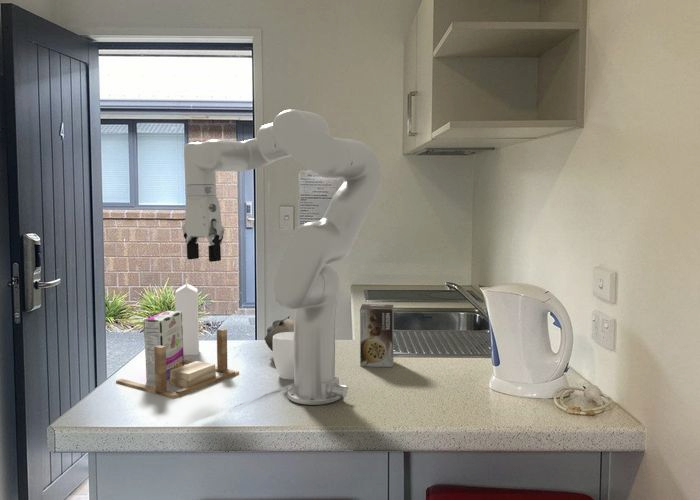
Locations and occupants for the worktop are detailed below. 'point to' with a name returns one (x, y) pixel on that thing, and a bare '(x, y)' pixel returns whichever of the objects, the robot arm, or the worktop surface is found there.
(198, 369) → the offcut top
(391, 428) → the worktop surface
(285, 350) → the mug
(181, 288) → the milk
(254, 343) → the worktop surface
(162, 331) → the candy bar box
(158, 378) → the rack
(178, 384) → the offcut middle
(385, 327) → the cookie box
